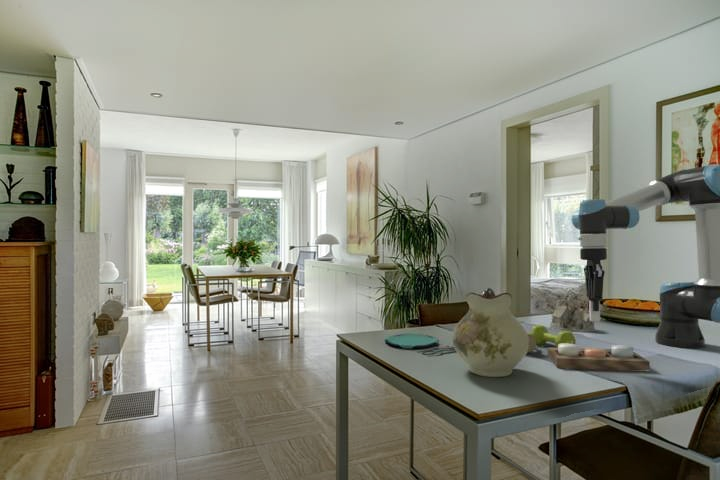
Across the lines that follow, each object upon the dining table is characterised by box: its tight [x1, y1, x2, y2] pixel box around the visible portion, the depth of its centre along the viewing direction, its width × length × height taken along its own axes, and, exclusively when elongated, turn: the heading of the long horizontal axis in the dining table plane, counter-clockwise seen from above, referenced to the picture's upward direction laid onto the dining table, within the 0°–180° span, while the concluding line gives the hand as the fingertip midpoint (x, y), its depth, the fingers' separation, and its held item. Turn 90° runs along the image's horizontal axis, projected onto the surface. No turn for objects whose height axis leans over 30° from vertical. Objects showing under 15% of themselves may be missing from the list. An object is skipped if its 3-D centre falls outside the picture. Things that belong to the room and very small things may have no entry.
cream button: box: [558, 343, 579, 356], centre depth 144 cm, size 6×6×4 cm
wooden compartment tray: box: [546, 347, 651, 371], centre depth 142 cm, size 26×14×3 cm, turn 78°
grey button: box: [610, 344, 634, 358], centre depth 141 cm, size 6×6×4 cm
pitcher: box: [452, 287, 529, 378], centre depth 136 cm, size 22×24×25 cm
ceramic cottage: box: [549, 294, 596, 333], centre depth 196 cm, size 16×16×15 cm
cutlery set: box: [384, 332, 457, 358], centre depth 169 cm, size 20×30×2 cm, turn 28°
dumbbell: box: [529, 324, 577, 348], centre depth 164 cm, size 16×8×7 cm, turn 22°
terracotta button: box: [584, 347, 606, 357], centre depth 142 cm, size 6×6×4 cm
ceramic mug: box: [526, 331, 540, 354], centre depth 160 cm, size 11×8×8 cm
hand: (594, 320), depth 142 cm, fingers closed
